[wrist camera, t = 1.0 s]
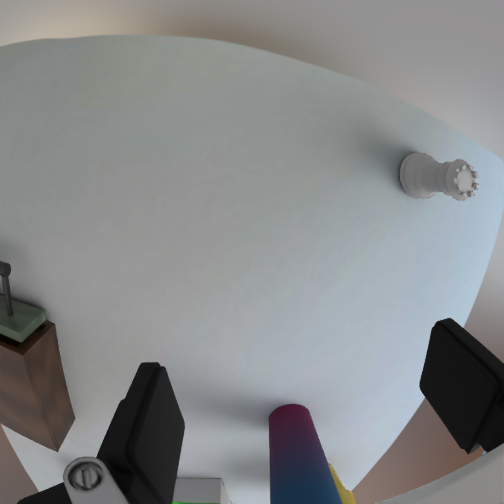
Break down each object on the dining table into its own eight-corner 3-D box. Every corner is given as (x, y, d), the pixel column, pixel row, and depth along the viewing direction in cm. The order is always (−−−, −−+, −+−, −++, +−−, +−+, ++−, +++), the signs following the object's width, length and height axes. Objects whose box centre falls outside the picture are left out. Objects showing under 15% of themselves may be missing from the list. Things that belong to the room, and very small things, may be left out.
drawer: (-22, 243, 24) (-51, 255, 19) (40, 259, 25) (10, 276, 20) (6, 381, 30) (-11, 401, 25) (65, 407, 31) (50, 432, 26)
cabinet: (-13, 298, 27) (-46, 321, 20) (54, 323, 28) (22, 355, 21) (12, 391, 31) (-9, 417, 24) (75, 418, 32) (57, 452, 25)
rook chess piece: (439, 168, 25) (492, 172, 17) (422, 206, 26) (474, 221, 18) (407, 143, 24) (459, 139, 17) (389, 183, 25) (439, 191, 18)
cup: (326, 404, 32) (360, 506, 18) (300, 437, 34) (319, 532, 19) (276, 393, 31) (293, 507, 17) (252, 428, 33) (258, 531, 18)
